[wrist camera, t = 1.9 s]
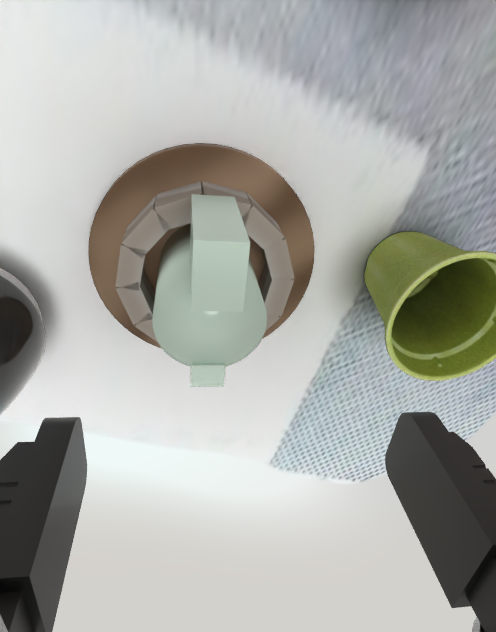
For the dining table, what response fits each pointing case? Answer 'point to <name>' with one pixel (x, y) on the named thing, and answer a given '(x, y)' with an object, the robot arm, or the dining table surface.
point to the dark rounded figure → (18, 338)
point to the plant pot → (434, 305)
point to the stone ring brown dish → (175, 212)
